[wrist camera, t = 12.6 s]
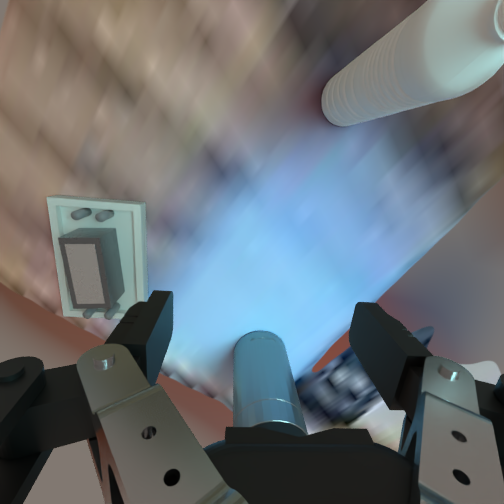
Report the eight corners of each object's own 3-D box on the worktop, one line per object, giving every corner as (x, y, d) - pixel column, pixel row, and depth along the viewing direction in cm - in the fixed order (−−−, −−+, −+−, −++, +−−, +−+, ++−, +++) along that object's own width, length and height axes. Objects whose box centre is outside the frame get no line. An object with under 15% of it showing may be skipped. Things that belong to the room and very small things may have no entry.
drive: (124, 291, 43) (110, 308, 38) (91, 291, 42) (72, 309, 37) (115, 227, 39) (99, 238, 35) (79, 227, 39) (57, 237, 34)
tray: (148, 312, 45) (140, 327, 41) (71, 308, 44) (55, 323, 40) (145, 202, 40) (135, 207, 36) (56, 194, 39) (36, 199, 35)
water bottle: (310, 99, 37) (448, -5, 13) (349, 59, 35) (579, -135, 12) (349, 150, 39) (526, 140, 15) (387, 114, 38) (642, 46, 14)
